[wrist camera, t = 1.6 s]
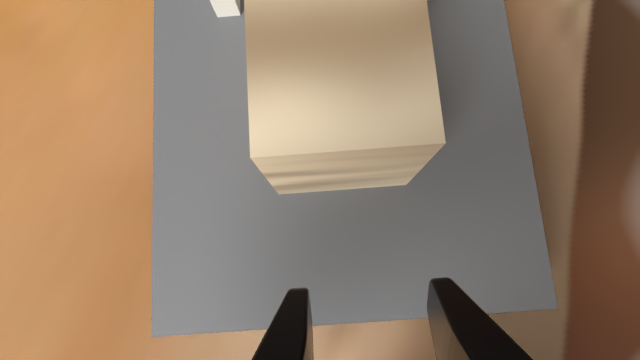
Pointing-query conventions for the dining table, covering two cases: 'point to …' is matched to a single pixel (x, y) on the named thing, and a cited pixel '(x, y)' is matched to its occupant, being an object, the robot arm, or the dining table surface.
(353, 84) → the maple block
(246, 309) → the platform
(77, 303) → the dining table surface
